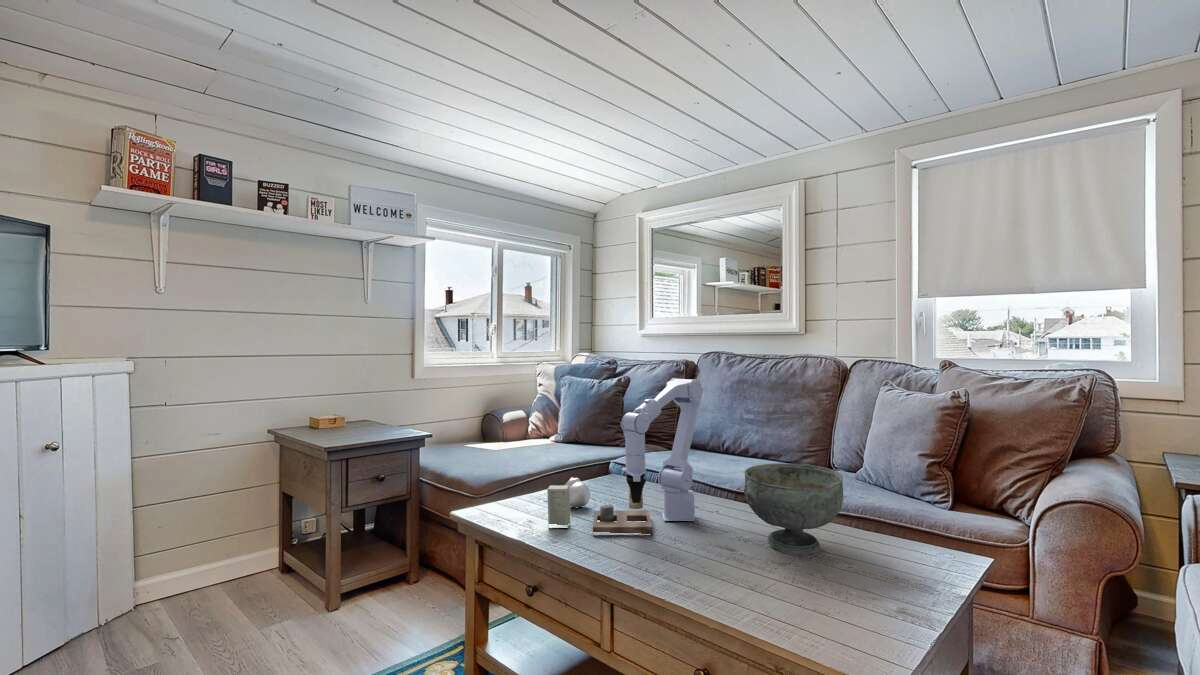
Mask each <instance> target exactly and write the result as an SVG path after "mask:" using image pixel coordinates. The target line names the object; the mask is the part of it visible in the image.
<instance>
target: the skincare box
mask: <svg viewBox="0 0 1200 675" xmlns="http://www.w3.org/2000/svg"><path fill="white" fill-rule="evenodd" d="M546 491H547V520H548V522H547V523H548V524H557V525H568V524H569V523H570V524H571V506H570V497H569V485H565V484H564V485H563V484H561V485H552V484H551V485H549V486H548V488H546ZM548 524H547V525H548Z"/></svg>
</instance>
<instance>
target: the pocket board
mask: <svg viewBox="0 0 1200 675" xmlns="http://www.w3.org/2000/svg"><path fill="white" fill-rule="evenodd" d="M599 508H600V510H594V514H593V521H592V522H593V523H592V533H593V532H610V533H641V534H652V535H653V525H652V521H651V520H652V519H651V516H650V511H649V510H643V509H642V510H640V509H637V510H615V509H614V508H615V507H614V506H613V505H611V504H603V505H600V507H599ZM597 520H600V522H597ZM614 521H617V522H614ZM627 521H646V522H627Z"/></svg>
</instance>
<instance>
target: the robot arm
mask: <svg viewBox="0 0 1200 675" xmlns="http://www.w3.org/2000/svg"><path fill="white" fill-rule="evenodd" d="M703 390H704V389H703V386H702V384H701V382H700V380H699V379H697V378H694V379H693V378H692V379H689V378H687V379H686V378H676V377H672V378H671V379H670V380H669V381H667V382H666V385H665V388H663V390H662V391H661V392H659V393H658V394H657V395H656V397H655V398H645V399H644V400H643V403H642V404H640V405H639V406H638V407H635V409H634V410H633V411H632V412H626V413H625V414H624V415H623V416H622V419H621V422H620V427H621V430H622V431H623V437H624V438H625V439H624V440H625V443H624V445H625V467H622V468H621V472H622V473H625V477H626V479H625V480H626V483H627V485H628V488H629V487H630V491H631V497H632V502H633V503H640V501H641V495H642V490H644V486H645V484H646V482H647V479H646V478H645V476H646V475H645V473H646V472H647V469H646V435H645V434H646V433H647V431H648V430H649V427H650V425H651V423H652V422H653V421H654V420H655V419H656V418H658V416H660V415H661V413H662V408H663V407H665V406H666V405H668V404H669V403H670V402H672V401H673V402H674V403H675V404H676V405H677V406H678V407H679V408H680V414H679V416H678V418H679V419H678V421H677V426H676V431H675V434H674V435H675V436H674V440H673V444H672V448H671V453H670V457H668V458H667V459H666V460H664V461H663V462H662V466H661V468H660V469H659V472H658V475H657V477H658V478H657V479H658V480H657V481H658V484H659V485H660V486H661V490H663V512H662V513H661V516H662V515H663V516H662V520H663V522H665V521H694V522H696V519H695V513H696V511H695V494H694V490H693V489H691V488H692V485H693V480H694V479H693V471H694V468H693V466H692V465H691V464H690V463H689V461H688V459H689V454H690V449H691V446H692V440H693V436H694V430H695V426H696V422H697V418H698V413H699V407H700V406H701V401H702V395H703Z"/></svg>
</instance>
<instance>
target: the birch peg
mask: <svg viewBox="0 0 1200 675" xmlns="http://www.w3.org/2000/svg"><path fill="white" fill-rule="evenodd" d="M643 490H644V489H643ZM643 490H642V495H641V501H640V503H633V502H632V497H631V491H630V487H629V486H628V507H629V509H630V510H632V509H633V510H640V509H642V508H643V507H644V504H643V503H644V499H643V498H644V497H643V496H644V494H643Z"/></svg>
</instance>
